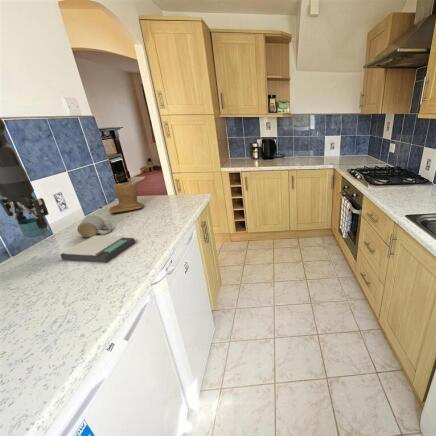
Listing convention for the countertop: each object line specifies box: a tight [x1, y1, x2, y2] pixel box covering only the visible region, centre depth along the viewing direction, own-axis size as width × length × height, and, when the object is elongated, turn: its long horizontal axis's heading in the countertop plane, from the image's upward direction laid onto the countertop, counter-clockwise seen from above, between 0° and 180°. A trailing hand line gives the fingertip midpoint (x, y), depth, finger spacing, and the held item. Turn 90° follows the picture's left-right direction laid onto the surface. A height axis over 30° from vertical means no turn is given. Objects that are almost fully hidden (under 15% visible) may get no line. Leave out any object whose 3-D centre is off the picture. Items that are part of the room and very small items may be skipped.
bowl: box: [16, 217, 50, 238], centre depth 83 cm, size 6×6×5 cm
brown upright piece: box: [108, 182, 144, 214], centre depth 131 cm, size 15×12×15 cm
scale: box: [60, 235, 136, 263], centre depth 92 cm, size 18×14×3 cm
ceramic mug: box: [77, 214, 112, 238], centre depth 106 cm, size 11×8×8 cm
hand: (34, 227), depth 83 cm, fingers closed on bowl, 6 cm apart
